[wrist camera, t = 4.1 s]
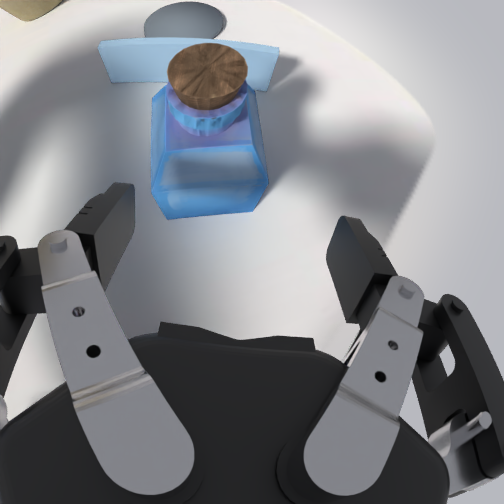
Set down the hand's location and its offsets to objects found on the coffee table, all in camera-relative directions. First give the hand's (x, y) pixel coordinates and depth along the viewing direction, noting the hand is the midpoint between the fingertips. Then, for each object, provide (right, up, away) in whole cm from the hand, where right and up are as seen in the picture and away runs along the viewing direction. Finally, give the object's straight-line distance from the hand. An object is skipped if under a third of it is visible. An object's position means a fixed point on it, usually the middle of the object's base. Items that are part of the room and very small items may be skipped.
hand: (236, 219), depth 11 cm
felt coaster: (-6, +22, +12) cm, 26 cm away
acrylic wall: (-5, +14, +11) cm, 18 cm away
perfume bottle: (-3, +4, +11) cm, 12 cm away
